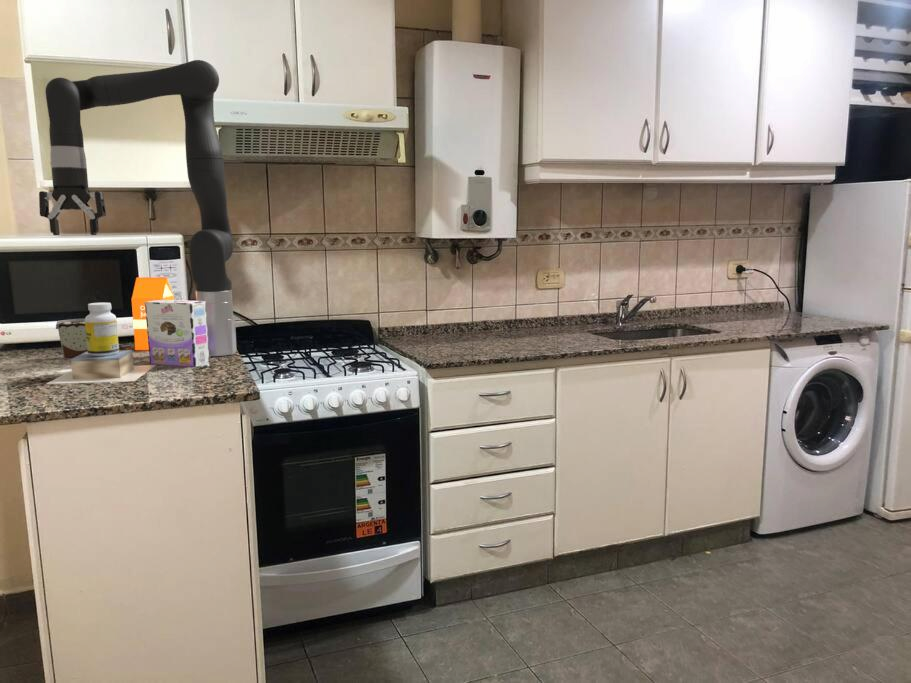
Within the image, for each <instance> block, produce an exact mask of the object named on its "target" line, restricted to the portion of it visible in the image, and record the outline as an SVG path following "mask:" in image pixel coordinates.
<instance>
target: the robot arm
mask: <svg viewBox="0 0 911 683" xmlns="http://www.w3.org/2000/svg"><path fill="white" fill-rule="evenodd" d="M219 84H220V77H219V72H218V71H217V69H216V68H215V67H214V66H213V65H212V64H211V63H209V62H207V61H204V60H203V59H202V60H201V59H194V60H190V61H187V62H185V63H180V64H177V65H173V66H170V67H165V68H160V69H153V70H146V71H137V72H134V71H133V72H125V73H114V74H103V75H96V76H92V77H89V78H88V79H84V80H73V81H72V80H70V79H68V78H66V77H55V78H52V79H51V80H50V81H49V82H48V83H47V84H46V86H45V91H44V92H45V98H46V100H45V101H46V106H47V113H48V120H49V130H48V131H49V132H48V133H49V143H50V153H49V154H50V168H51V178H52V186H53V190H52V192H48V191H39V192H38V193H39V194H38V201H39V202H38V204H39V216H41V217H43V218H45V219H47V220H48V221H49V230H50V232H51V234H53V236H60V221H59V219H58V217H59V216H60V214H62V212H63V211H64V210H66V211H67V210H69V211H71V210H76V211H78V210H82V211H83V212H84V213H85V214H86V215H87V216H88V217H89V218H90V219H89V230H90V231H89V232H90V235H91V236H96V235H98V233H99V231H100V227H99V219H100V218H103V217H106V216H107V210H106V205H105V199H104V193H103V192H102V191H94V192H93V191H90V190H89V179H88V168H87V158H86V153H85V148H84V147H85V146H84V145H85V144H84V135H83V134H84V133H83V130H82V125H81V111H84V110H88V109H89V110H90V109H94V108H99V107H113V106H114V107H115V106H120V105H121V106H122V105H129V104H134V103H138V102H142V101H147V100H151V99H154V98H159V97H160V98H161V97H166V96H180V100H181V104H182V109H183V115H184V122H185V123H184V126H185V128H184V133H185V134H184V137H185V138H184V140H185V141H184V142H185V160H186V168H187V169H186V170H187V177H188V178H187V179H188V183H189V186H190V189H191V191H192V194H193V196H194V198H195V200H196V203H197V205H198V208H199V209H198V210H199V213H200V223H201V230H198V231H196V233H194V234H193V235H192V236H191V239H190V242H189V248H188V249H189V264H190V272H191V273H190V274H191V278H192V282H193V284H194V287H195V301H206V317H207V333H208V350H209V357H222V356H223V357H224V356H233V355H234V354H235V353H236V352H237V332H236V318H235V316H234V306H233V288H232V287H233V286H232V285H233V284H232V280H231V278H230V277H229V275H228V273H227V270H226V268H227V267H226V262H227V261H229V260H230V258H231V257H232V256H233V255H232V254H233V252H234V238H233V235H232V229H231V225H230V220H229V215H228V214H229V213H228V206H227V204H228V203H227V202H228V201H227V200H228V199H227V190H226V187H227V186H226V173H225V162H224V154H223V149H222V145H221V141H220V138H219V135H218V131H217V128H216V124H215V116H214V97H215V96H214V95H215V93H216V92H217V90H218V88H219ZM91 198H92V200H93V201H94V202H95V207H96V211H95V210H94V209H93V207H92V206H91V205H90V203H88V202H89V201H90V199H91ZM52 199H53V200H54V201H55V202H56V203H55V204H53V207H52V208H51V210H50V201H51V200H52Z"/></svg>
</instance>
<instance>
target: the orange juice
mask: <svg viewBox="0 0 911 683" xmlns="http://www.w3.org/2000/svg"><path fill="white" fill-rule="evenodd" d="M155 300H175V296H174V294H173V290H172V288H171V285H170V282H169V280H168V277H162V276H161V277H157V276H156V277H148V276H146V277H140V276H139V277H136V278H135V282H134V287H133V292H132V296H131V307H132V308H131V309H132V326H133V336H134V349H135V351H149V346H148V334H147V323H146V310H145V302H148V301H155Z"/></svg>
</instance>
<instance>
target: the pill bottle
mask: <svg viewBox="0 0 911 683" xmlns="http://www.w3.org/2000/svg"><path fill="white" fill-rule="evenodd" d="M87 307H88V308H87V309H88V311H89V314H87V315H86V316H85V318H84V319H85V328H86V339H87V351H88V354H89V355H90V356H109V355H114V354H117V353H118V352H119V350H120V347H119V333H118V321H117V316H116V314H114V313H113V312H111V311H112V303H111V302H92V303H91V302H90V303H87Z"/></svg>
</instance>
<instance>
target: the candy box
mask: <svg viewBox="0 0 911 683" xmlns="http://www.w3.org/2000/svg"><path fill="white" fill-rule="evenodd" d="M145 310H146V323H147V334H148V346H149V350H148V357H149V364H150V365H162V366H163V365H164V366H165V365H166V366H177V367H191V368H193V367H194V368H195V367H196V368H197V367H199V368H198V370H201V369H204V368H208V367H210V356H209V350H208V333H207V317H206V301H196V300H191V299H190V300H188V299H186V300H185V299H184V300H182V299H174V300H155V301H148V302H145Z"/></svg>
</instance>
